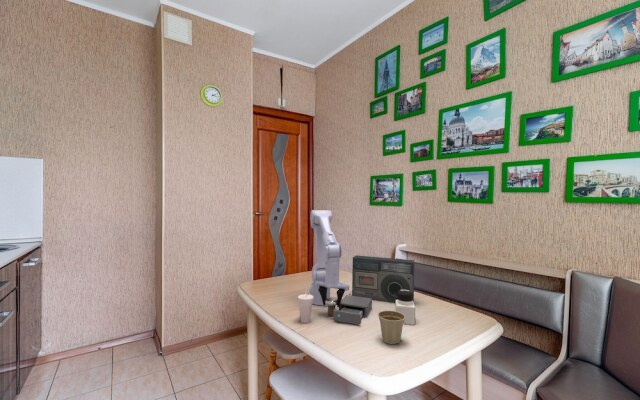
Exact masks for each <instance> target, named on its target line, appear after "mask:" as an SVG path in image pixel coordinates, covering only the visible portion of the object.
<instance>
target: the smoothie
mask: <svg viewBox="0 0 640 400" xmlns="http://www.w3.org/2000/svg"><path fill="white" fill-rule="evenodd" d="M297 300H298V308H299V317H300V318H299V319H300V322H301V323H305V324H307V323H310V322H311V316H312V315H311V314H312V311H313V309H312V308H313V304H312V303H313V300H314V296H312V295H310V293H309V294H308V286H307V285H305V293H304V294H299V295H298V296H297Z"/></svg>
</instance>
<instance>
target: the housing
mask: <svg viewBox="0 0 640 400" xmlns="http://www.w3.org/2000/svg"><path fill="white" fill-rule="evenodd" d="M344 306H345V307H346V308H347V309H353V310H360V311H361V310H362V309H364V314H363V316H362V317H361V318H364V319H367V318H368V316H369V314H370V312H371V311H372V309H373V300H372V298H365V297H357V296H352V295H349V294H346V295H344V296H343V297H342V300H341V304H340V307H338V310H339V311H341V309H342V308H343V307H344Z"/></svg>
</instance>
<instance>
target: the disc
mask: <svg viewBox="0 0 640 400" xmlns="http://www.w3.org/2000/svg"><path fill="white" fill-rule="evenodd" d="M325 304H326V305H328V306H337V298H336V297H331V296H330V298H326V299H325ZM328 306H327V307H328Z"/></svg>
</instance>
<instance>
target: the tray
mask: <svg viewBox="0 0 640 400" xmlns="http://www.w3.org/2000/svg"><path fill="white" fill-rule="evenodd" d="M363 314H364V309H362V310H361V311H360V310H353V309H347V308H346V307H345V306H344V307H343V308H342V309H341V311H339V309H336V310H333V317H332V321H336V322H342V323H348V324H354V325H361V323H362V322H361V320H362V318H363V317H362V316H363Z"/></svg>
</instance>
